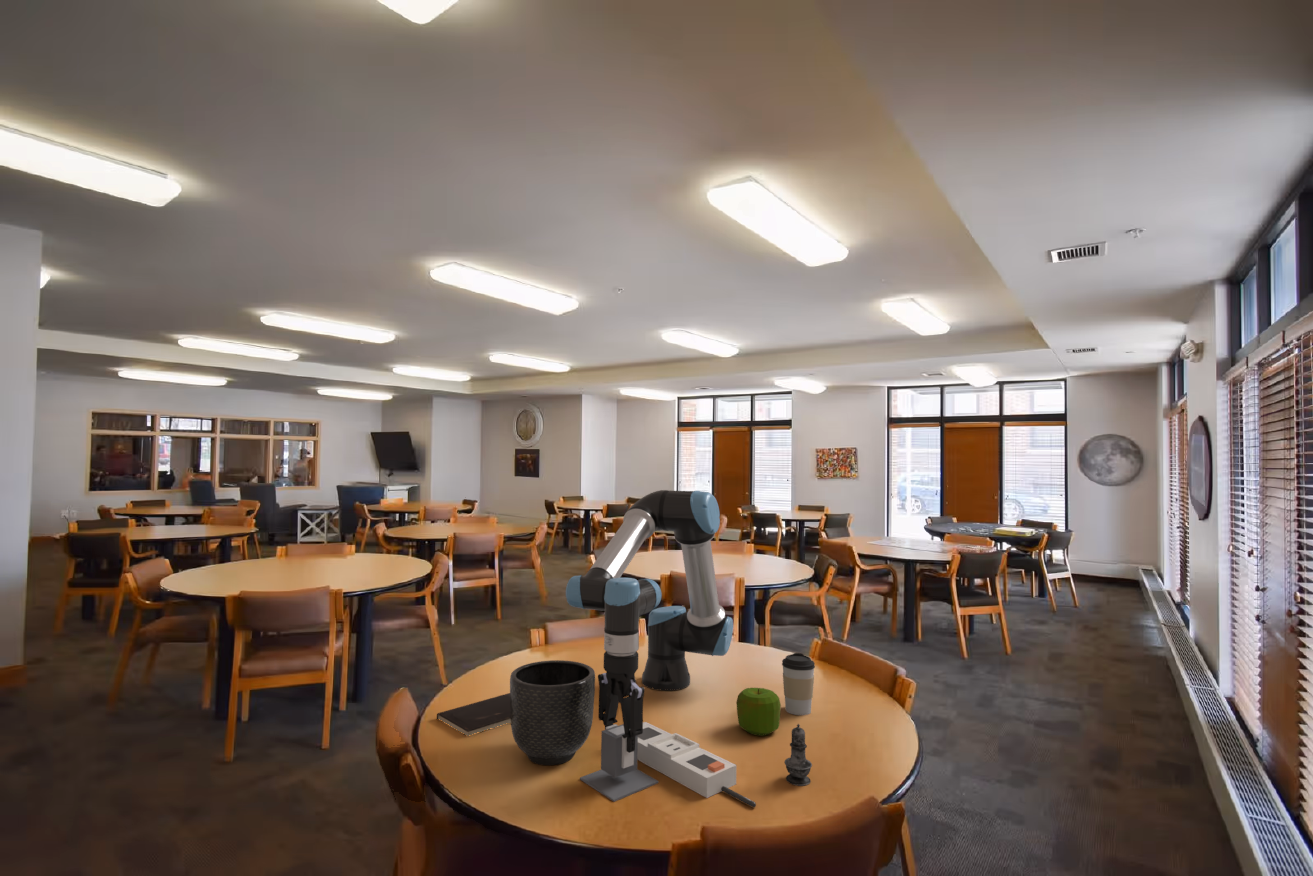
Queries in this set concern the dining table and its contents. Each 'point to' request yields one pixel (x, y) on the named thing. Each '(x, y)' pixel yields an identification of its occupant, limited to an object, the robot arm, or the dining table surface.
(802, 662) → the coffee cup
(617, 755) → the charger
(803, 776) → the grey chess piece
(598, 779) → the mat
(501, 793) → the dining table surface
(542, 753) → the planter
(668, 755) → the strip
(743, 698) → the apple
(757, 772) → the dining table surface
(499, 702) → the hardcover book
